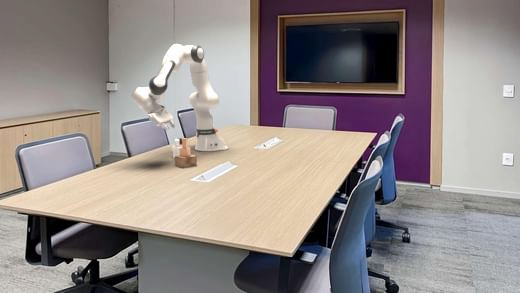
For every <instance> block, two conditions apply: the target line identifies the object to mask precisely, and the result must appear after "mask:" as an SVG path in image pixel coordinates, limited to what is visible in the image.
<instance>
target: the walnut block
mask: <svg viewBox="0 0 520 293" xmlns="http://www.w3.org/2000/svg"><path fill="white" fill-rule="evenodd" d="M197 161H198V160H197V155H195V154H191V155H190V156H188V157H180V155H176V156H175V158H174V166H176V167H178V168H181V169H187V168H192V167H197V166H198V163H197Z"/></svg>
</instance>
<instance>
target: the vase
mask: <svg viewBox="0 0 520 293" xmlns="http://www.w3.org/2000/svg"><path fill="white" fill-rule="evenodd" d="M188 140H189V138H187V137H186V138H185V137H183V139H182V148H180V157H188V156H190V155H192V154H191V151H192V150H191V147H189V146H188V145H189V143H188V142H189V141H188Z"/></svg>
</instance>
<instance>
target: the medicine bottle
mask: <svg viewBox="0 0 520 293" xmlns="http://www.w3.org/2000/svg"><path fill="white" fill-rule="evenodd" d="M183 138H184V137H183ZM183 138H182V137H181V138H180V137H179V138H178V137H177V138H175V139H174V145H172V148H171V150H172V158H174V159H175V156H176V155H180V148H182V139H183Z"/></svg>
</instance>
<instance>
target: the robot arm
mask: <svg viewBox="0 0 520 293" xmlns="http://www.w3.org/2000/svg"><path fill="white" fill-rule="evenodd" d="M183 64H184V65H185V64H189V69H190V77H191V81H192V85H193V86H194V87H195V89H196V91H195V92H192V93H191V94H190V96H189V100H188V101H189V104H190V105H191V106H192V109H193V112H194V115H195V118H196V119H195V121H196V123H195V124H196V129H195V137H196V141H195V143H196V144H195V147H194V150H196V151H201V152H216V151H223V150H224V151H225V150H228V149H229V147H228V145H225V140H224V139H223V138H222V137H221V136H220V135H219V134H217V133H218V132H219V130H218V129H215V128H214V119H213V115H212V114H211V112H210V110H211V109H215V108H217V107H218V106H219V104H220V97H219V95H218V94H216V92H215V91H214V89H213V86H212V84H211V82H210V78H209V72H208V67H207V64H206V59H205V51H204V49H203V48H202V46H201V45H197V44H194V45H190V44H189V45H182V44H180V43H179V44H178V43H174V44H173V45H171V47H170V48H169V49H168V50H167V51H166V53H165V55H164V57H163V58H162V62H161V68H160V69H159V71H158V73H157V74H156V75H155V76H154V77H152V78H150V80H149V81H148V82H149V83H148V86H146V87H140V86H138V87H137V88H136V89H135V90H134V91H133V93H132V95H131V98H132V100H133V102H134V103H135V104H136V105H137V106H138V107H139V108H140V109H141V110H142V111H143V112H144V113H145V115H147V116H148V119H149V120H150V122H151V123H152V124H153V125H154V126H155V127H157V128H158V127H161V128H162V129H163V130H165V131H168V130H170V127H171V128H172V129H174V128H176V124H175V123H174V116H173V115H172V114H171V112H170V111H168V110H167V109H166V106H165V105H161V104H159V103H160V102H161V101H162V100H163V99H164V96H165V93H166V91H167V89H168V80H169V78H170V77H171V74H176V73H177V72H178V70H179V69H180V68H181V66H182V65H183ZM167 124H169V125H170V127H169V126H167Z"/></svg>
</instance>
